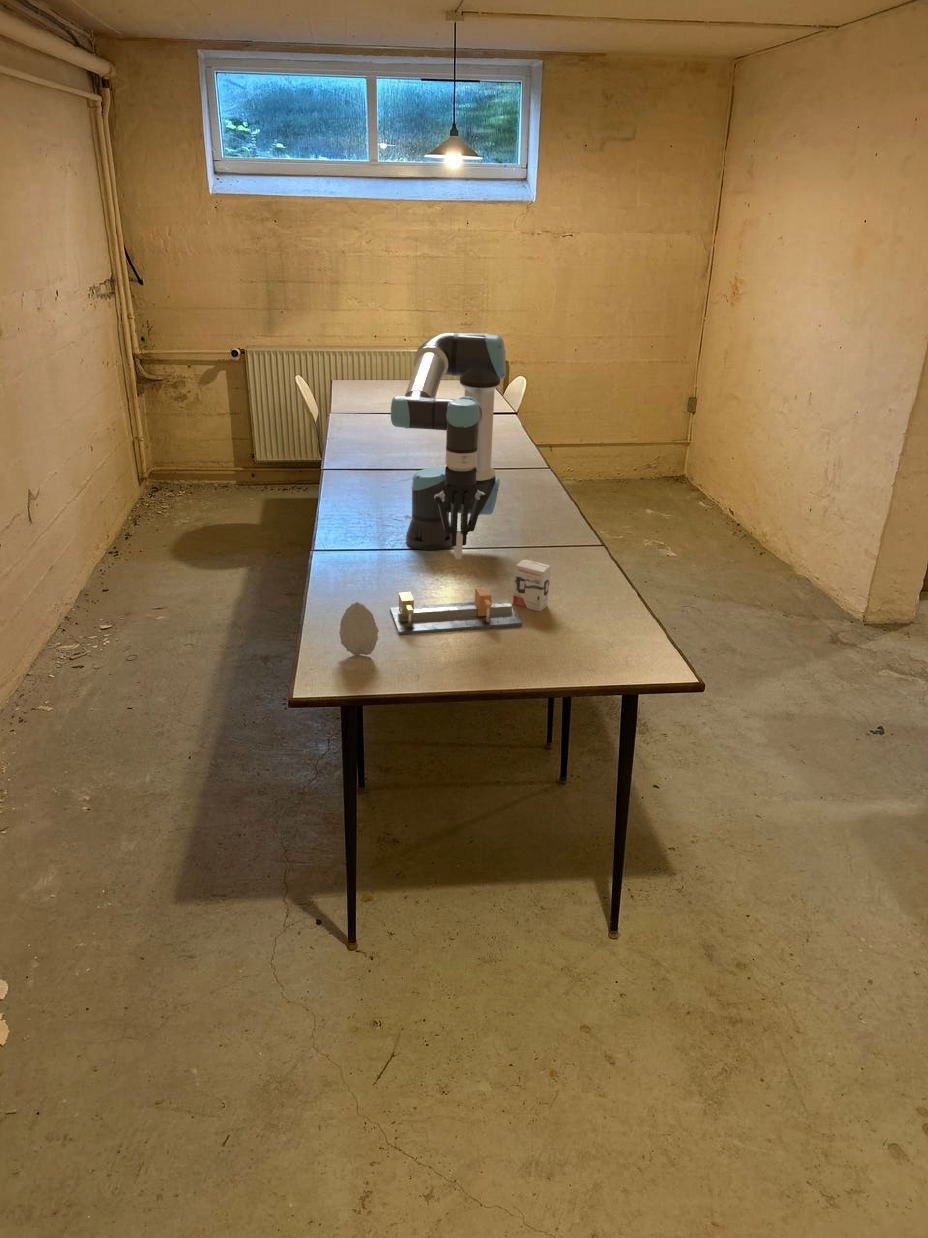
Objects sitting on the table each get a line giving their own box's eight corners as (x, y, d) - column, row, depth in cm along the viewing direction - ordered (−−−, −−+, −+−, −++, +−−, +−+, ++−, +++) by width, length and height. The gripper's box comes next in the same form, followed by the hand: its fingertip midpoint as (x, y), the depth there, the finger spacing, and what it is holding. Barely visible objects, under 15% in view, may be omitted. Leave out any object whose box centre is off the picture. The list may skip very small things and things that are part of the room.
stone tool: (379, 653, 203) (378, 596, 196) (378, 659, 200) (378, 602, 194) (340, 653, 203) (338, 596, 196) (339, 659, 200) (337, 602, 193)
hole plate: (390, 610, 224) (390, 607, 223) (506, 603, 231) (507, 599, 230) (399, 635, 212) (399, 631, 211) (521, 626, 219) (521, 622, 218)
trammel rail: (396, 614, 220) (396, 592, 217) (508, 607, 226) (509, 585, 224) (402, 630, 212) (402, 607, 209) (517, 621, 219) (519, 599, 216)
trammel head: (474, 608, 224) (475, 587, 221) (485, 607, 225) (486, 587, 222) (482, 623, 217) (483, 602, 214) (493, 622, 217) (495, 601, 215)
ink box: (512, 604, 230) (514, 564, 225) (520, 597, 234) (523, 558, 229) (540, 612, 227) (544, 571, 221) (548, 605, 231) (551, 565, 225)
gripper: (437, 472, 198) (435, 564, 209) (491, 470, 201) (486, 561, 212) (431, 462, 205) (429, 552, 216) (483, 460, 208) (479, 549, 219)
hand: (457, 556), depth 214 cm, fingers closed
